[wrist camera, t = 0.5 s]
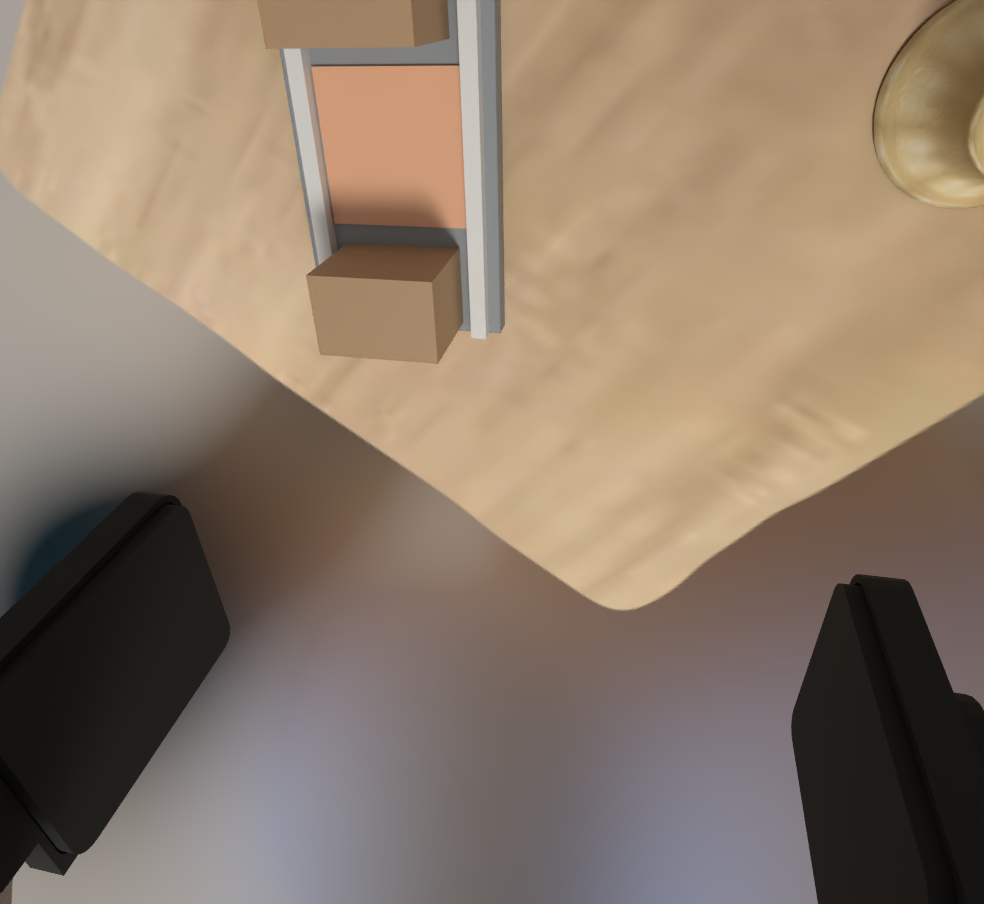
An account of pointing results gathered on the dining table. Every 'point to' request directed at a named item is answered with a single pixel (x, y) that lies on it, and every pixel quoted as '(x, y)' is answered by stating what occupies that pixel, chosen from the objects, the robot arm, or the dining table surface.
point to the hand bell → (936, 111)
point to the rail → (397, 168)
